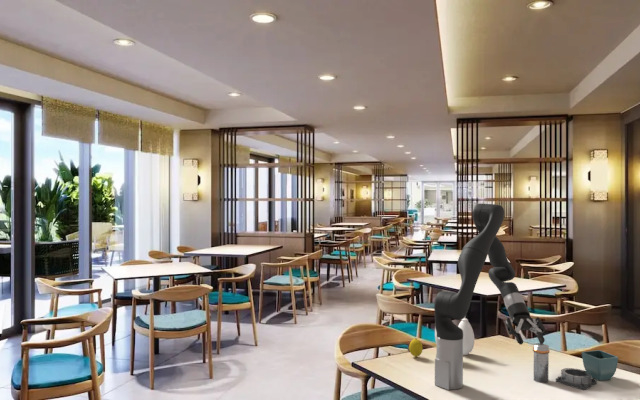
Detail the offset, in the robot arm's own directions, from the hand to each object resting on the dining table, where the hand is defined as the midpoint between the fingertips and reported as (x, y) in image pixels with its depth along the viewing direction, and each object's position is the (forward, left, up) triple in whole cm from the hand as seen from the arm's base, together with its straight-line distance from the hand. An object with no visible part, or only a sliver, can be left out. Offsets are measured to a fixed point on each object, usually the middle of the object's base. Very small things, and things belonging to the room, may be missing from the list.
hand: (532, 343), depth 185 cm
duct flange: (+5, -14, -12) cm, 19 cm away
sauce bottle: (0, +30, -12) cm, 33 cm away
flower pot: (+17, -17, -12) cm, 27 cm away
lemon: (-20, +40, -12) cm, 47 cm away
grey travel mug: (-3, -5, -12) cm, 13 cm away
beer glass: (-12, +32, -12) cm, 37 cm away
